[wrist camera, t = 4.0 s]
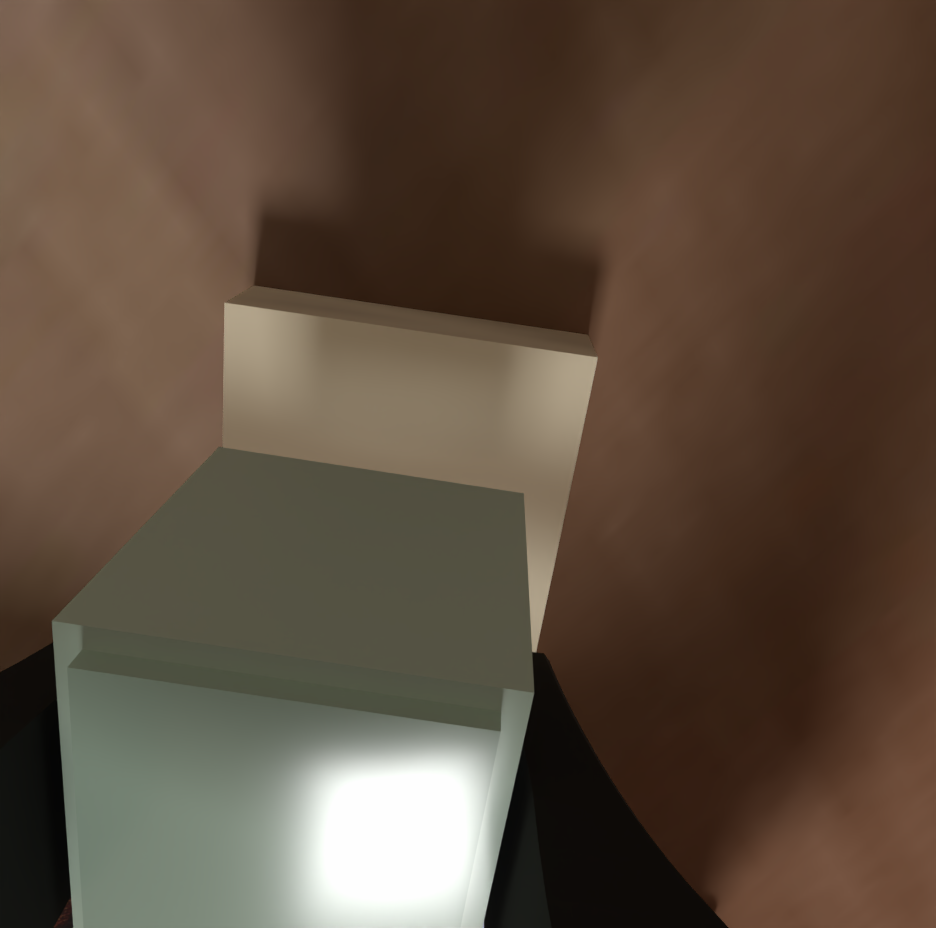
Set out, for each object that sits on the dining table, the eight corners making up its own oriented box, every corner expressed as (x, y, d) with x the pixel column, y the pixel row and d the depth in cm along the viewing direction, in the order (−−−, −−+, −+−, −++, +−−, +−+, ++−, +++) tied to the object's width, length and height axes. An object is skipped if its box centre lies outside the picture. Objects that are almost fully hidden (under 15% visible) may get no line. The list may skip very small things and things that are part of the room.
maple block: (530, 607, 22) (533, 662, 20) (249, 567, 22) (220, 617, 20) (586, 330, 19) (597, 357, 17) (258, 282, 19) (224, 302, 16)
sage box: (477, 733, 15) (463, 1032, 10) (212, 694, 14) (62, 974, 10) (523, 493, 13) (535, 712, 8) (219, 446, 13) (36, 637, 8)
